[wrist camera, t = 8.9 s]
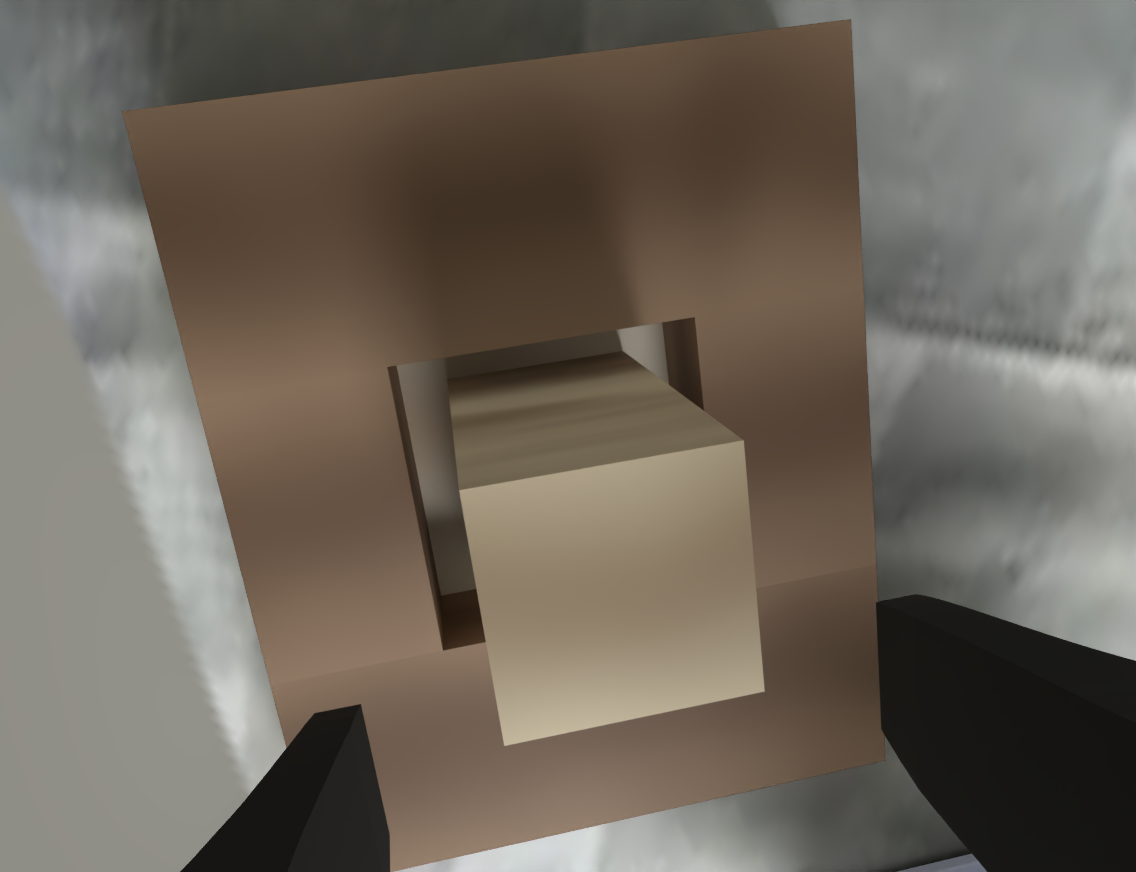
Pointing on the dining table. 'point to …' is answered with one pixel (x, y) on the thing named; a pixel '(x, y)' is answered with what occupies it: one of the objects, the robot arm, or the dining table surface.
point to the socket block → (518, 339)
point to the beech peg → (604, 544)
